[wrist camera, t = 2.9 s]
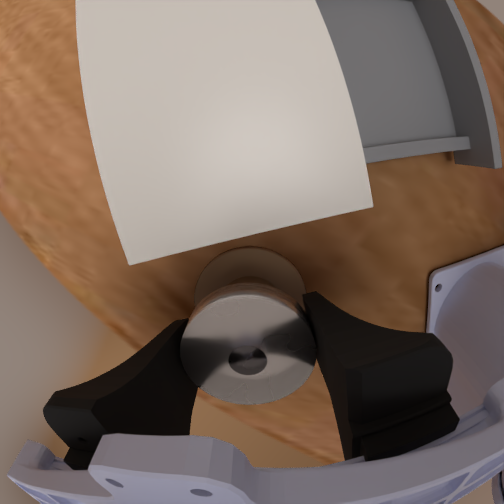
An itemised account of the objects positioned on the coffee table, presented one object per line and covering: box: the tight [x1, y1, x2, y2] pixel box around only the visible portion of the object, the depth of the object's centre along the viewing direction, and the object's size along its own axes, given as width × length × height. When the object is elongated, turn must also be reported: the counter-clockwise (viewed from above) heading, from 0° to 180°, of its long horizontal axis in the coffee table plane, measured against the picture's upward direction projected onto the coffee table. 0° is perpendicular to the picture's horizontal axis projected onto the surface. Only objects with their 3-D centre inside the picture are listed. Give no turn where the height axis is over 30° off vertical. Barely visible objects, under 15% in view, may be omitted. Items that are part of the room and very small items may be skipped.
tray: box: [315, 0, 502, 169], centre depth 9 cm, size 9×10×3 cm
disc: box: [180, 283, 317, 405], centre depth 11 cm, size 5×5×2 cm
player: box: [76, 0, 373, 265], centre depth 9 cm, size 9×15×4 cm, turn 14°
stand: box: [194, 247, 306, 311], centre depth 13 cm, size 6×6×4 cm
